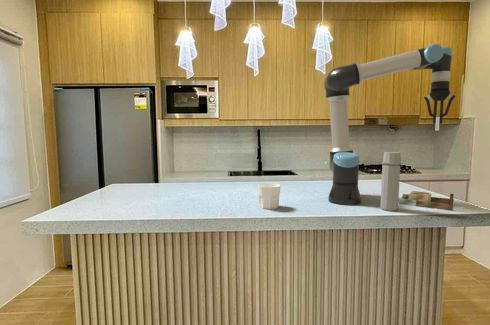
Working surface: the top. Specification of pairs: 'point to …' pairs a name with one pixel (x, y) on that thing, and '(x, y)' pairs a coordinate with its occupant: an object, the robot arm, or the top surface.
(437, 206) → the bay
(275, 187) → the cup
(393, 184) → the water bottle
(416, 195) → the crate
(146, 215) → the top surface
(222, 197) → the top surface
